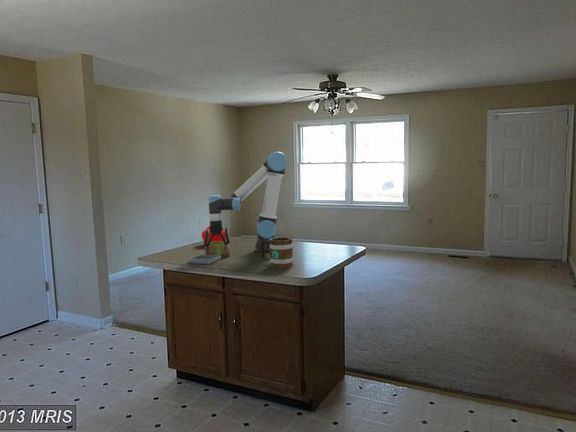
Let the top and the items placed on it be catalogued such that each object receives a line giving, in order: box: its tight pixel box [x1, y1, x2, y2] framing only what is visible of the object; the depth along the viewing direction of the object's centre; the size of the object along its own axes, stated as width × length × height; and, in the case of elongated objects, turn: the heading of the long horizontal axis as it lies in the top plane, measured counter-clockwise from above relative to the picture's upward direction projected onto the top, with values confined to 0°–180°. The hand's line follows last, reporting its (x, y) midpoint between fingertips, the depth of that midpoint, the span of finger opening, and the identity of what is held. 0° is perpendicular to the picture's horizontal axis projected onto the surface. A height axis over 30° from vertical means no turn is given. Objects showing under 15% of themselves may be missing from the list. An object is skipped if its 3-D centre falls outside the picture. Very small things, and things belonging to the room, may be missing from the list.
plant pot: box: [210, 241, 224, 257], centre depth 284 cm, size 9×9×9 cm
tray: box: [187, 253, 222, 265], centre depth 269 cm, size 14×14×2 cm
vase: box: [201, 225, 227, 242], centre depth 324 cm, size 18×18×19 cm
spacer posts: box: [204, 244, 231, 258], centre depth 284 cm, size 17×17×7 cm
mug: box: [261, 236, 294, 269], centre depth 253 cm, size 20×14×15 cm
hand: (217, 255), depth 284 cm, fingers open, 9 cm apart
